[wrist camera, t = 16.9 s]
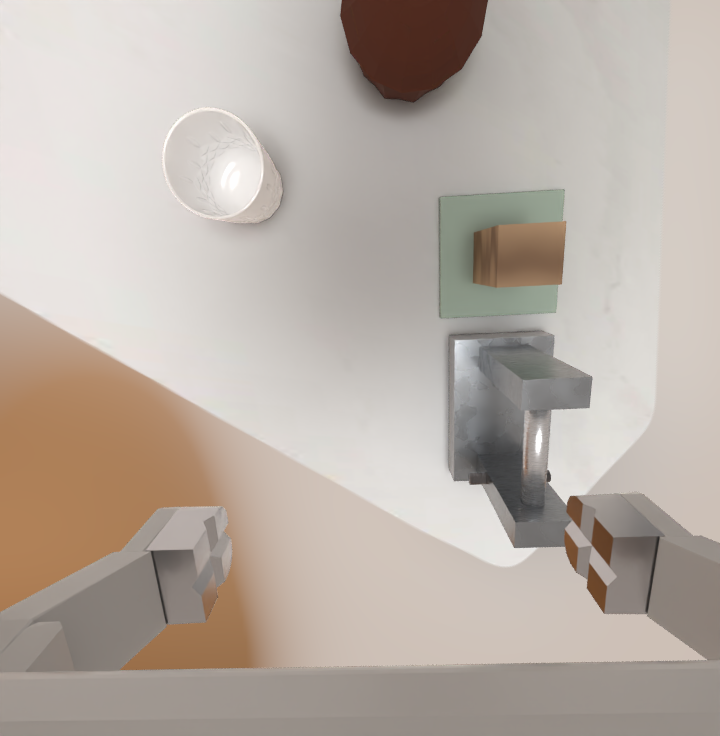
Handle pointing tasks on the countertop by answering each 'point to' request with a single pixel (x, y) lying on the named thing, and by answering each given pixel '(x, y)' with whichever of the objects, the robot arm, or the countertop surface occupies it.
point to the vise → (511, 426)
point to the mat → (458, 247)
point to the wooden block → (519, 255)
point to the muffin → (411, 41)
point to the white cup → (220, 168)
